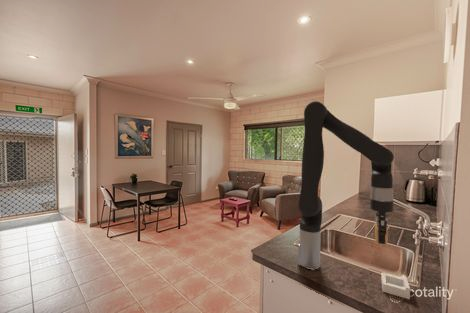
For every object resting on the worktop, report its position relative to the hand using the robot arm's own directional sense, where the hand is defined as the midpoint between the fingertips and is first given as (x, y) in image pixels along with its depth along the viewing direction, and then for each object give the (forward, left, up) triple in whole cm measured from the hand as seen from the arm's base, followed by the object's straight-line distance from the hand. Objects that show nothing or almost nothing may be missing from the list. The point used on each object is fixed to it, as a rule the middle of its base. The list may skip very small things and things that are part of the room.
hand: (381, 241), depth 84 cm
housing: (+5, 0, -18) cm, 18 cm away
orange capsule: (0, 0, -1) cm, 1 cm away
